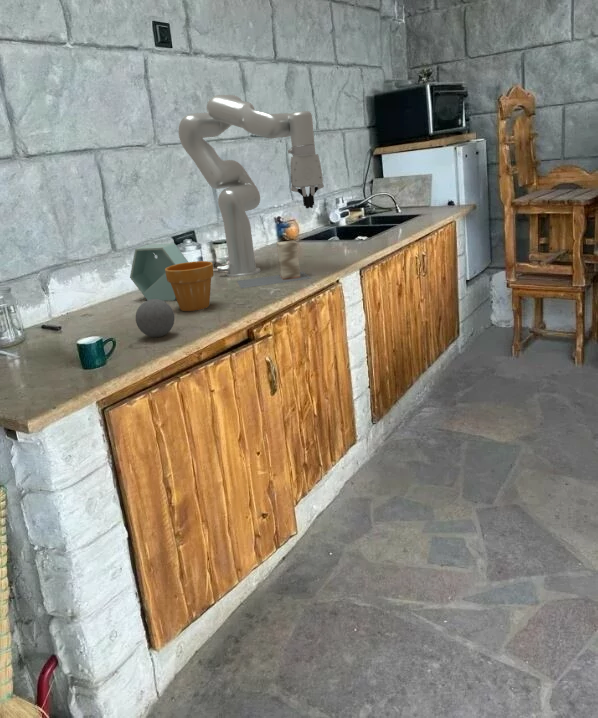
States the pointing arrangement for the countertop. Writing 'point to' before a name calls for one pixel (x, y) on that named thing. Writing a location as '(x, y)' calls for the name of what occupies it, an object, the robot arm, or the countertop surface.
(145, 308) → the decorative ball
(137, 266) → the planter
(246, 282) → the slate mat
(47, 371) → the countertop surface
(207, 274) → the flower pot
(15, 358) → the countertop surface
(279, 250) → the birch block
